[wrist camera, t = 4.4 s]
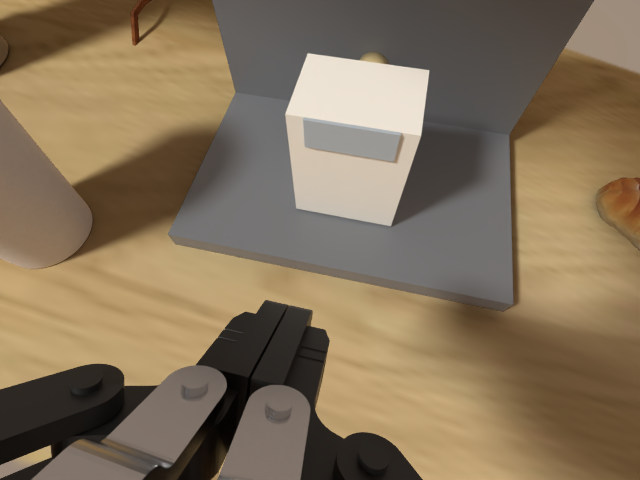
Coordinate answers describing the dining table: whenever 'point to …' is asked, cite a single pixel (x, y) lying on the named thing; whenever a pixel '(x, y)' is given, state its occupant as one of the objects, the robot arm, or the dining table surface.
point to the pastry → (621, 207)
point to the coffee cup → (36, 203)
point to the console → (431, 155)
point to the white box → (354, 135)
